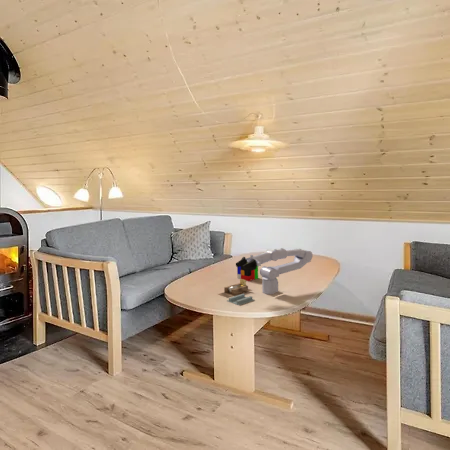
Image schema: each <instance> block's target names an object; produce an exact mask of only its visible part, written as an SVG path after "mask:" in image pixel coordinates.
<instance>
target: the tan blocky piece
mask: <svg viewBox="0 0 450 450" xmlns="http://www.w3.org/2000/svg"><path fill="white" fill-rule="evenodd" d="M239 283H240V285H241V287H242V286H246V285H247V281H246V280H244V279H239Z"/></svg>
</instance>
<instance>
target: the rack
mask: <svg viewBox="0 0 450 450" xmlns="http://www.w3.org/2000/svg"><path fill="white" fill-rule="evenodd" d="M254 301H255V299H254V298H253V296H251V295H250V296H246V294H245V293H242V294H239V295H236V296H232V297H229V298H228V300H226V302H228V303H231V304H234V305H235V306H236V305H237V306H242V305H245V304H248V303H250V302H254Z"/></svg>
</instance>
